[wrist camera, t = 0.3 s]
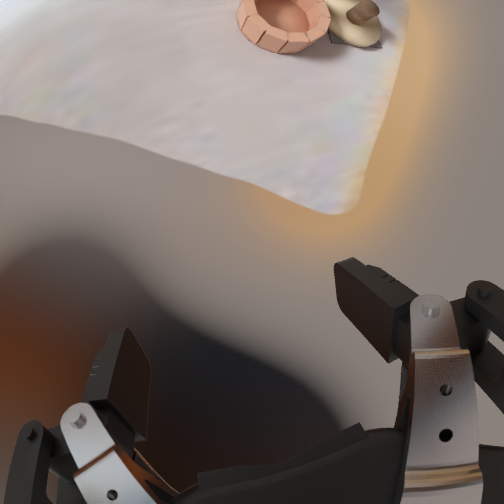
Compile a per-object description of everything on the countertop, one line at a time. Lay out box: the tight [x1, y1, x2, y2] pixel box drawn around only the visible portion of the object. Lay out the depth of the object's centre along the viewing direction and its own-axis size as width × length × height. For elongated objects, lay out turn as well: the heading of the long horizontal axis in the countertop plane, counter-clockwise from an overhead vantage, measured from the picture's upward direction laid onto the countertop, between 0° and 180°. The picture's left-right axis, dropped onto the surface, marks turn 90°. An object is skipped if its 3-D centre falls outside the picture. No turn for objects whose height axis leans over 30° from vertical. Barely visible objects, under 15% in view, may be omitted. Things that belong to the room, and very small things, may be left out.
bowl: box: [237, 0, 331, 54], centre depth 27 cm, size 12×12×5 cm
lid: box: [324, 0, 381, 47], centre depth 27 cm, size 11×11×6 cm
